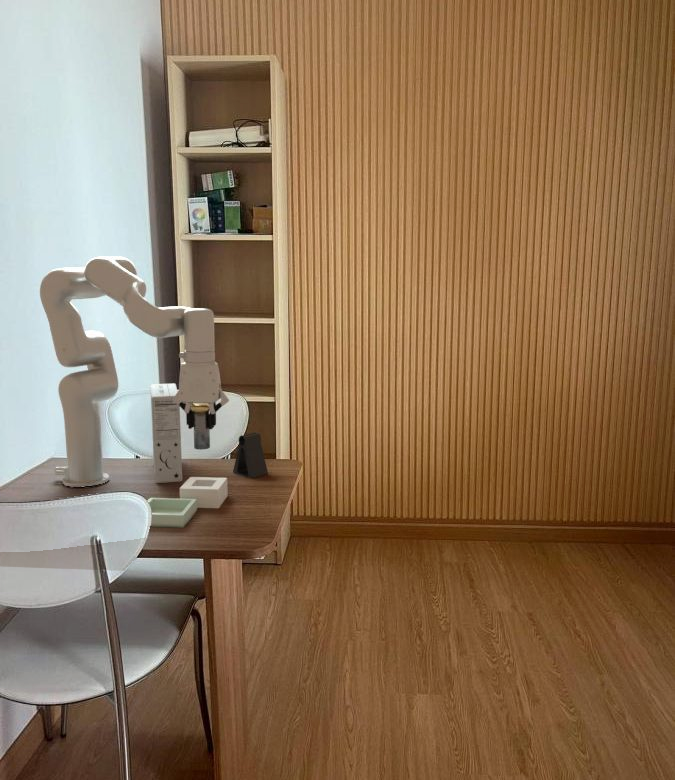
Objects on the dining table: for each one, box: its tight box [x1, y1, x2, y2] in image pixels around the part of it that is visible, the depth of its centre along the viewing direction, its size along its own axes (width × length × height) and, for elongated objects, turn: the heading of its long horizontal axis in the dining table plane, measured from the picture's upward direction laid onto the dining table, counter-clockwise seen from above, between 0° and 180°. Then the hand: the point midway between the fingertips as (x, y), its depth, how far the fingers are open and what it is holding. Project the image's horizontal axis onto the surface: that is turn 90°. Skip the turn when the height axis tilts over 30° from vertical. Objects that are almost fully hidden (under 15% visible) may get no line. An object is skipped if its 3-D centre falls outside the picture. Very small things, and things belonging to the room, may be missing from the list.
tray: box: [146, 497, 198, 528], centre depth 177 cm, size 12×12×3 cm
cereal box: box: [149, 383, 183, 484], centre depth 214 cm, size 22×8×25 cm, turn 15°
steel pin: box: [190, 403, 211, 451], centre depth 186 cm, size 6×6×11 cm
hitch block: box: [179, 476, 229, 509], centre depth 189 cm, size 10×10×5 cm
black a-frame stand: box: [232, 432, 269, 479], centre depth 213 cm, size 9×6×12 cm, turn 47°
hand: (201, 427), depth 186 cm, fingers closed on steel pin, 4 cm apart
